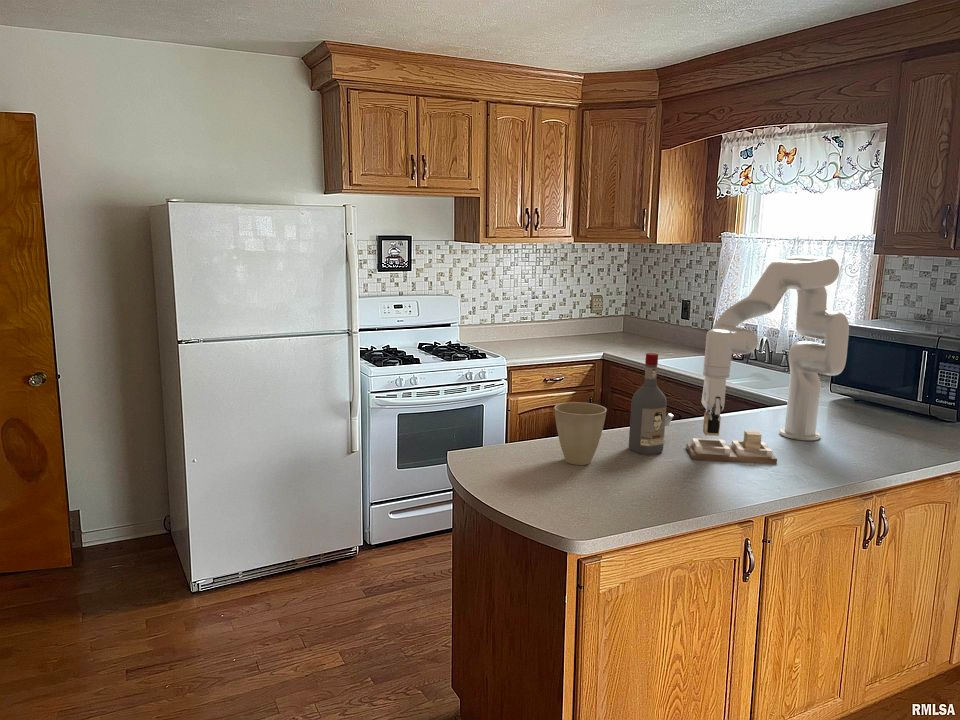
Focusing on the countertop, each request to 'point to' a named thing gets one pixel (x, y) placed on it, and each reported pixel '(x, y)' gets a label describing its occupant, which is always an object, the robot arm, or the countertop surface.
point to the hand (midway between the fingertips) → (711, 430)
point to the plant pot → (579, 430)
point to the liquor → (648, 413)
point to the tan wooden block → (705, 425)
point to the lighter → (668, 420)
